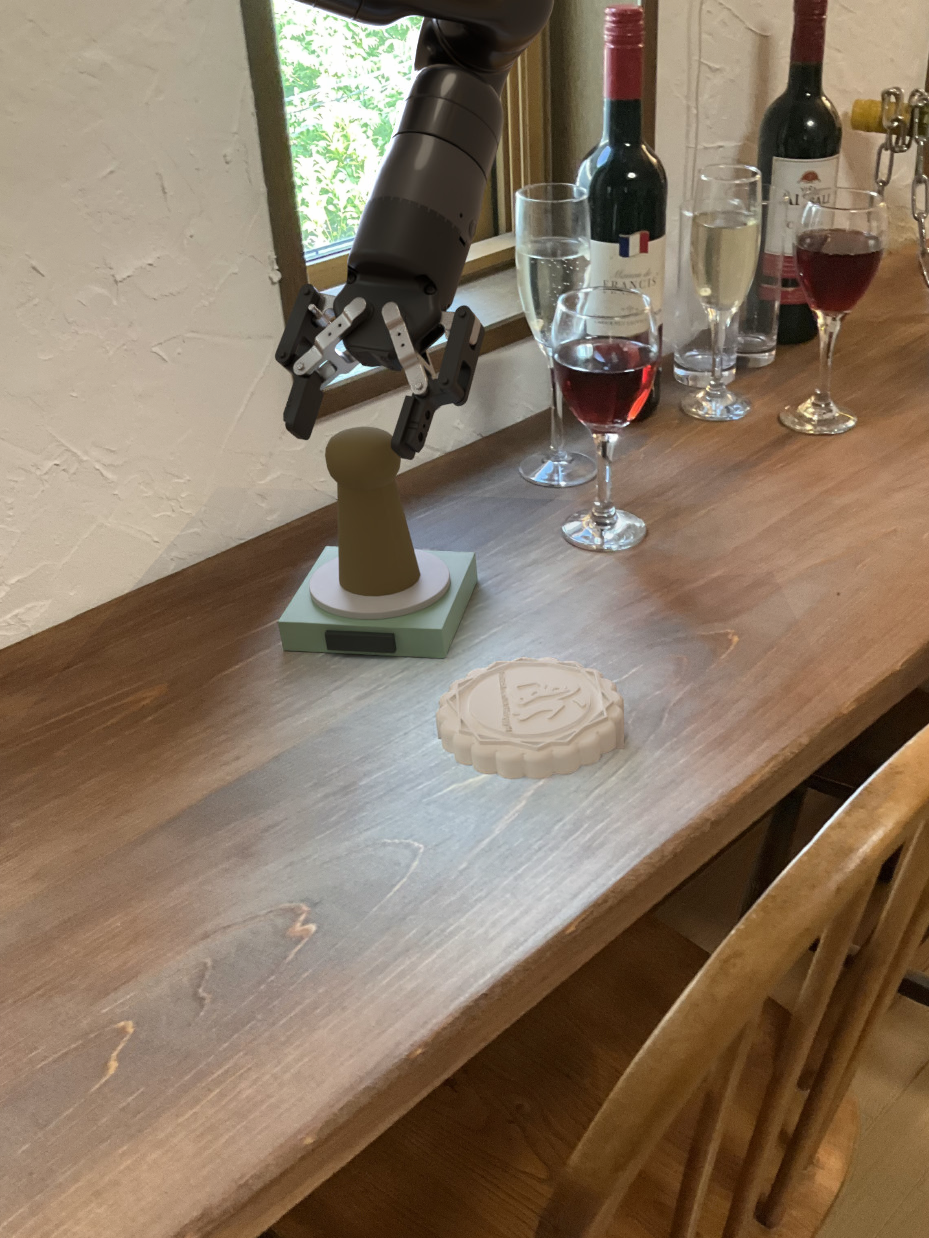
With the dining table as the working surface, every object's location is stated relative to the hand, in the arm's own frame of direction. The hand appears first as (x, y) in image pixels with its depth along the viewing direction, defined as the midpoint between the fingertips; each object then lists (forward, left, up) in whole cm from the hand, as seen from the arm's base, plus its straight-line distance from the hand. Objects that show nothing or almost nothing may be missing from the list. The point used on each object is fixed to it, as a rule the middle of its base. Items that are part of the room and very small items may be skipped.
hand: (348, 444), depth 87 cm
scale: (+1, +1, -14) cm, 14 cm away
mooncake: (+15, -15, -14) cm, 25 cm away
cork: (0, +1, -11) cm, 11 cm away
